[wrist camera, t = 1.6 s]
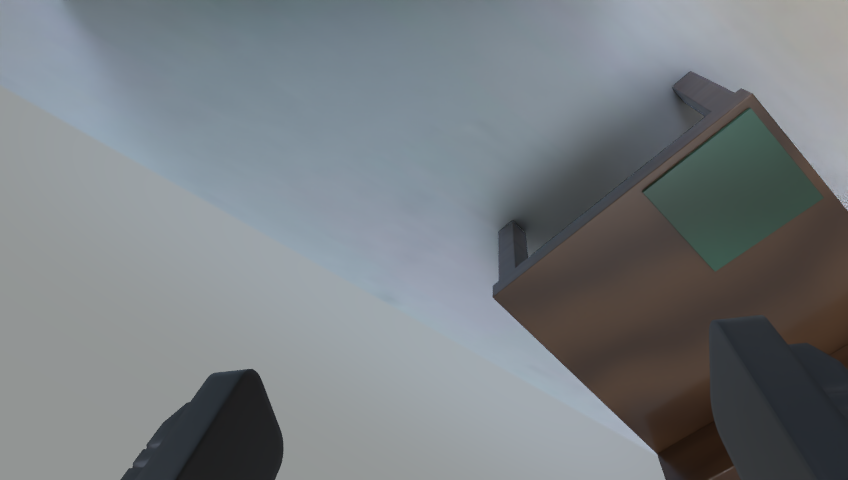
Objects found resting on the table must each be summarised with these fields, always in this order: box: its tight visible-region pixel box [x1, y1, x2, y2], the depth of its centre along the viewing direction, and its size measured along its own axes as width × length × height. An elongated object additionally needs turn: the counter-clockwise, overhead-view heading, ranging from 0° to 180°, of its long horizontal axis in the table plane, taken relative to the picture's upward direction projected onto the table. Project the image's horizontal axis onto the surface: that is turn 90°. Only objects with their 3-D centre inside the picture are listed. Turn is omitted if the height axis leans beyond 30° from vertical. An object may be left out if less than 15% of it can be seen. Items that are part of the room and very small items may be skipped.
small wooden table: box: [493, 72, 848, 480], centre depth 30 cm, size 14×14×11 cm
